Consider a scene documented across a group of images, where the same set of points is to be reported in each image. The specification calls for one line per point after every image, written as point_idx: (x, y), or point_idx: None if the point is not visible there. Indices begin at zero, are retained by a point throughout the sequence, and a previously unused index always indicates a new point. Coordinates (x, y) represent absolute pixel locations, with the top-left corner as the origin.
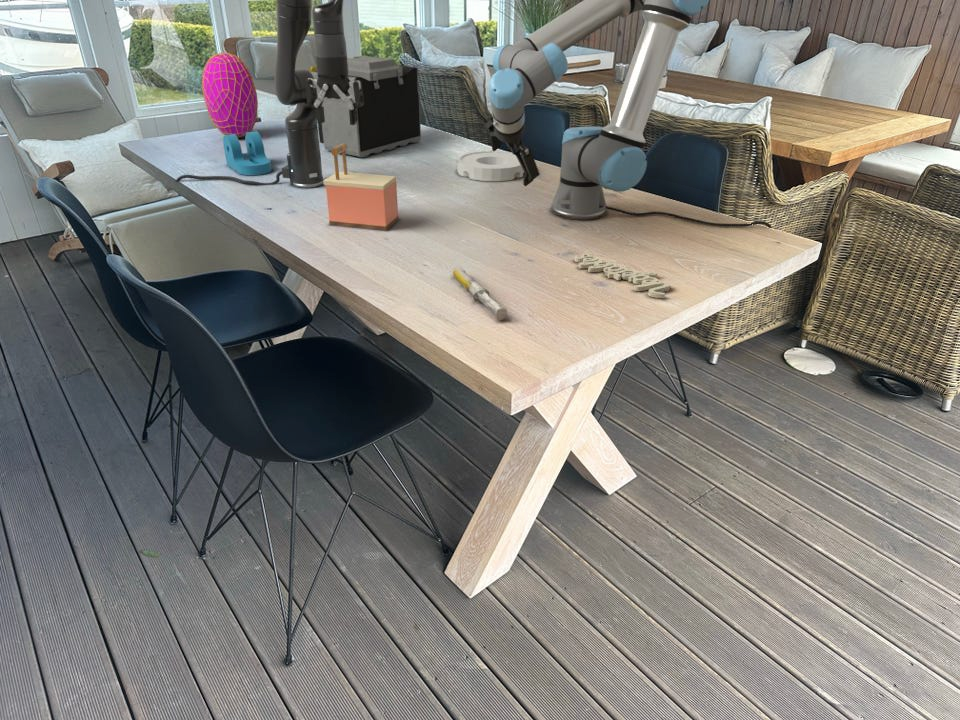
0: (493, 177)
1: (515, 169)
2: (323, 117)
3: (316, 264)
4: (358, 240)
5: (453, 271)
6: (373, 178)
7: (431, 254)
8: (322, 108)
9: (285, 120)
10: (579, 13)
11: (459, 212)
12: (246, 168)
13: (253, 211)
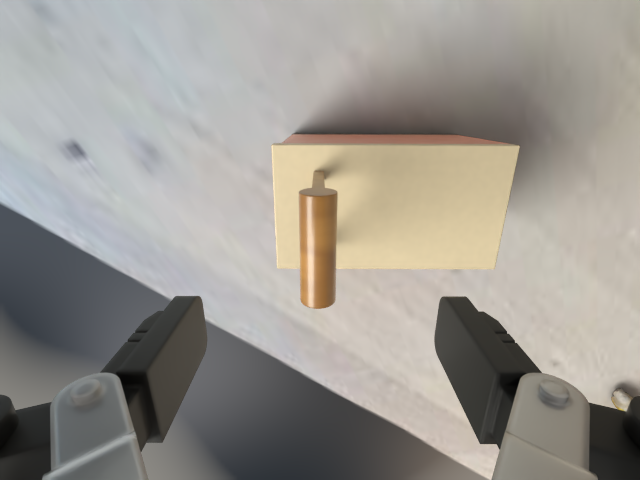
0: None
1: None
2: (189, 327)
3: (363, 401)
4: (397, 290)
5: (618, 407)
6: (440, 199)
7: (563, 318)
8: (158, 385)
9: None
10: None
11: (632, 7)
12: None
13: (52, 180)
